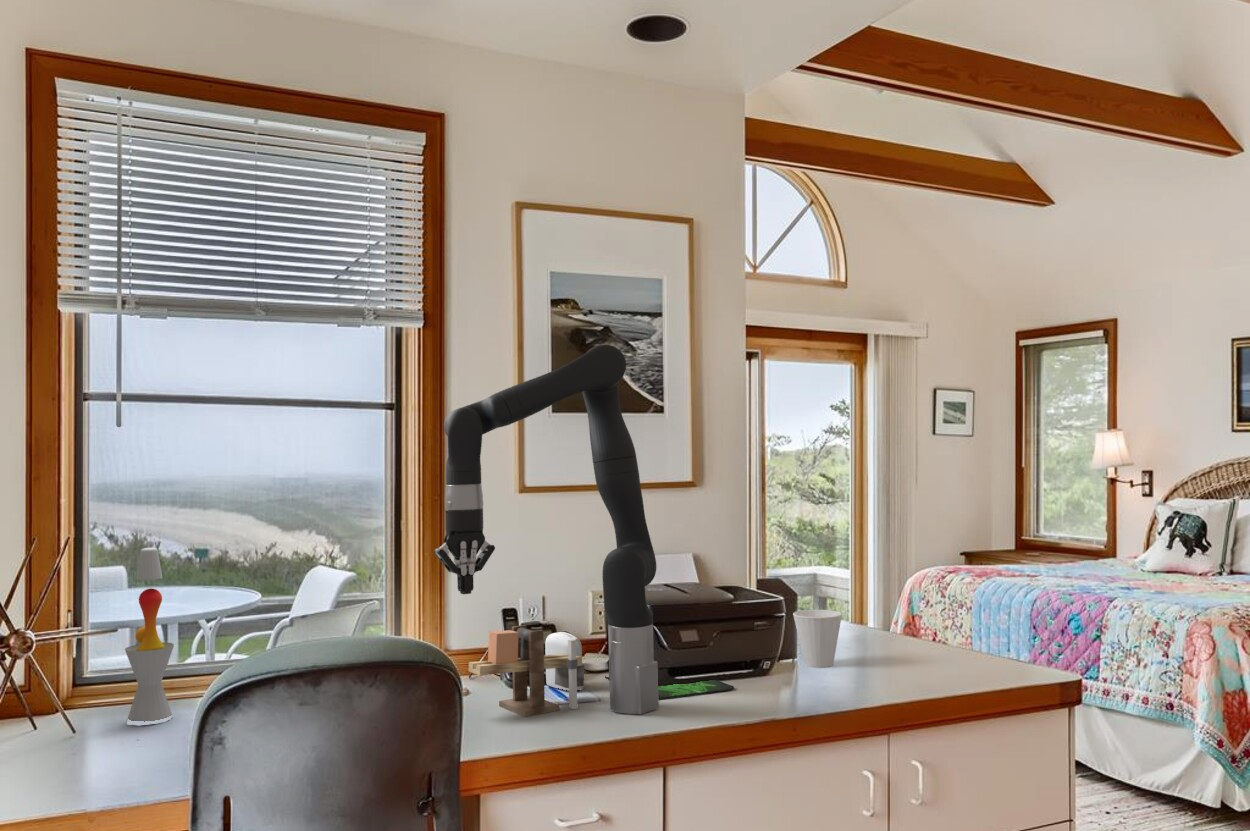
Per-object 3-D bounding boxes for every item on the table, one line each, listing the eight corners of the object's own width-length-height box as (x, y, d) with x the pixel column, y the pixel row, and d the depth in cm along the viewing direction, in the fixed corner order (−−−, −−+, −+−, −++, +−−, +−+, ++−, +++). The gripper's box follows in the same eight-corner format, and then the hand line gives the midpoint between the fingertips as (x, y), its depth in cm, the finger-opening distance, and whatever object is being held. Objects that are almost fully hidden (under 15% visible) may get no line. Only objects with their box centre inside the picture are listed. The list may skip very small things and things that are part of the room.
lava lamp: (183, 717, 203) (182, 547, 204) (142, 728, 195) (142, 551, 197) (156, 712, 208) (155, 545, 209) (115, 723, 200) (115, 549, 201)
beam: (570, 681, 214) (572, 623, 215) (585, 686, 210) (586, 627, 210) (466, 692, 200) (469, 631, 201) (479, 698, 195) (482, 635, 196)
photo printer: (543, 685, 224) (542, 631, 225) (558, 682, 227) (557, 628, 227) (569, 693, 216) (568, 636, 217) (585, 690, 219) (584, 634, 220)
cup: (784, 662, 243) (783, 612, 243) (824, 657, 248) (822, 607, 248) (813, 672, 232) (811, 619, 232) (854, 666, 237) (852, 614, 237)
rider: (509, 663, 205) (510, 630, 205) (517, 666, 202) (518, 632, 202) (487, 665, 202) (489, 631, 202) (495, 668, 199) (496, 633, 199)
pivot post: (532, 699, 212) (531, 622, 212) (559, 710, 203) (557, 629, 203) (499, 705, 207) (497, 627, 208) (524, 716, 198) (523, 634, 199)
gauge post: (574, 706, 205) (573, 639, 205) (578, 708, 204) (576, 640, 204) (568, 708, 204) (566, 639, 204) (572, 709, 203) (570, 640, 203)
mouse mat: (600, 677, 233) (600, 673, 233) (684, 667, 241) (684, 663, 241) (646, 703, 208) (646, 698, 208) (738, 692, 216) (738, 687, 216)
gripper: (485, 504, 205) (486, 588, 205) (425, 508, 198) (427, 595, 197) (502, 506, 199) (503, 592, 198) (441, 509, 191) (443, 599, 191)
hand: (465, 593), depth 198 cm, fingers closed
